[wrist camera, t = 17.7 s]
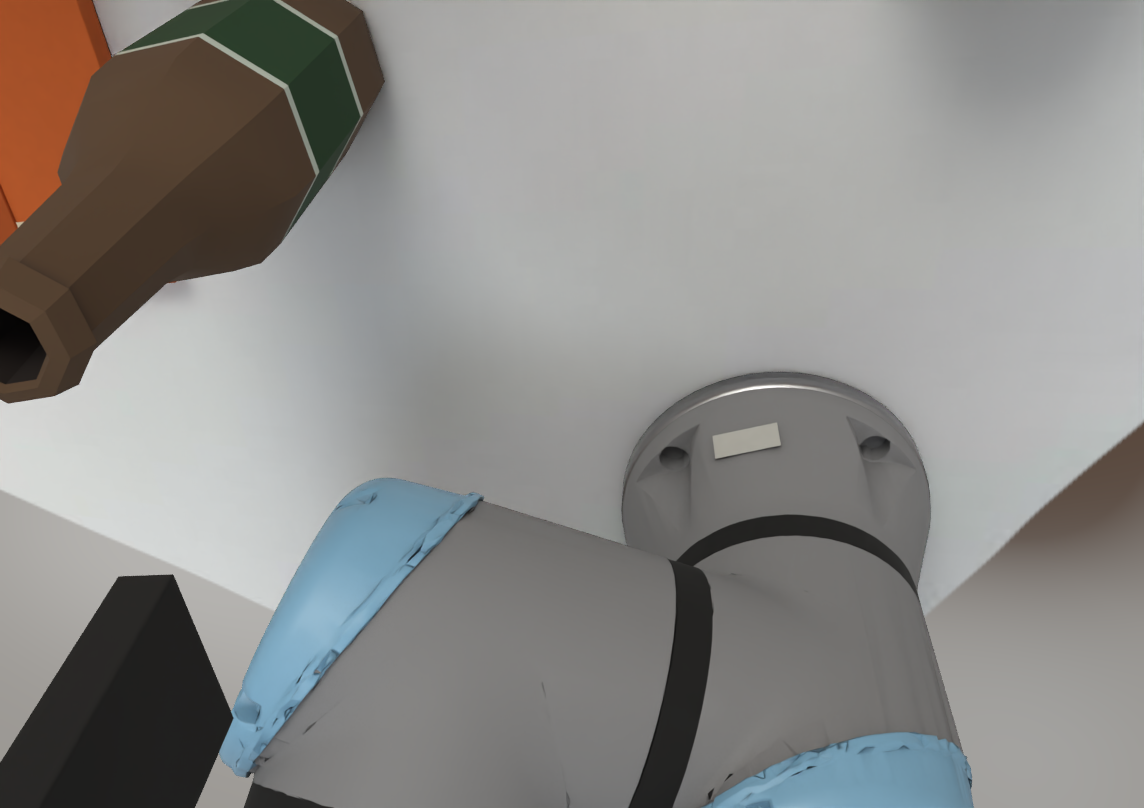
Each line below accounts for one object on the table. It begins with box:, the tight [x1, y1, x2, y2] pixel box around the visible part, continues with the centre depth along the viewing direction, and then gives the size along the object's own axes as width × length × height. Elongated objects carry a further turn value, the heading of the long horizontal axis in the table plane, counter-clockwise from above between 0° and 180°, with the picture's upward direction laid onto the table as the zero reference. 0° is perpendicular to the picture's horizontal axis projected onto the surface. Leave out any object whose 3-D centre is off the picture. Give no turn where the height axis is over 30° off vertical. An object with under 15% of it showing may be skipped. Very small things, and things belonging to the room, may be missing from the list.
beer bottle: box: [0, 0, 385, 403], centre depth 35 cm, size 8×8×24 cm
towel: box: [0, 0, 177, 283], centre depth 46 cm, size 20×8×1 cm, turn 7°
